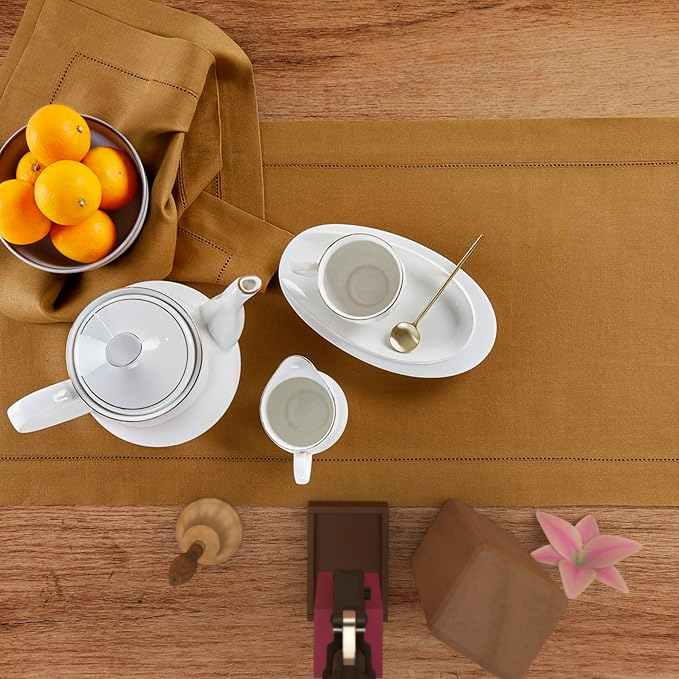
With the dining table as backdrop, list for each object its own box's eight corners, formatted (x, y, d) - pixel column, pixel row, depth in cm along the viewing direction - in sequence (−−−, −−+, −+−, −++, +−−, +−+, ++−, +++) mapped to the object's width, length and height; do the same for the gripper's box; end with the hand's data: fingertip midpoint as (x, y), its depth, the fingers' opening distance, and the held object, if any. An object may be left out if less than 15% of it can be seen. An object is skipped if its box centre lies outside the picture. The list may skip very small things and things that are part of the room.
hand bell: (242, 565, 80) (217, 620, 64) (175, 564, 80) (132, 619, 64) (243, 497, 80) (218, 536, 64) (176, 496, 80) (134, 534, 64)
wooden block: (518, 536, 80) (576, 602, 60) (474, 605, 80) (517, 694, 60) (449, 492, 80) (484, 543, 60) (405, 561, 80) (425, 635, 60)
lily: (634, 540, 80) (656, 521, 72) (608, 634, 76) (629, 625, 67) (538, 501, 84) (548, 479, 76) (508, 589, 80) (516, 575, 71)
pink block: (377, 632, 65) (382, 679, 56) (318, 631, 65) (313, 678, 56) (378, 572, 65) (383, 609, 56) (318, 572, 65) (313, 609, 56)
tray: (386, 612, 80) (388, 622, 77) (308, 611, 80) (306, 621, 77) (387, 501, 80) (388, 507, 77) (308, 500, 80) (307, 506, 77)
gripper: (289, 609, 41) (310, 512, 64) (288, 915, 40) (309, 706, 64) (410, 610, 40) (387, 512, 64) (409, 917, 40) (386, 707, 63)
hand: (348, 609), depth 64 cm, fingers closed on pink block, 6 cm apart
